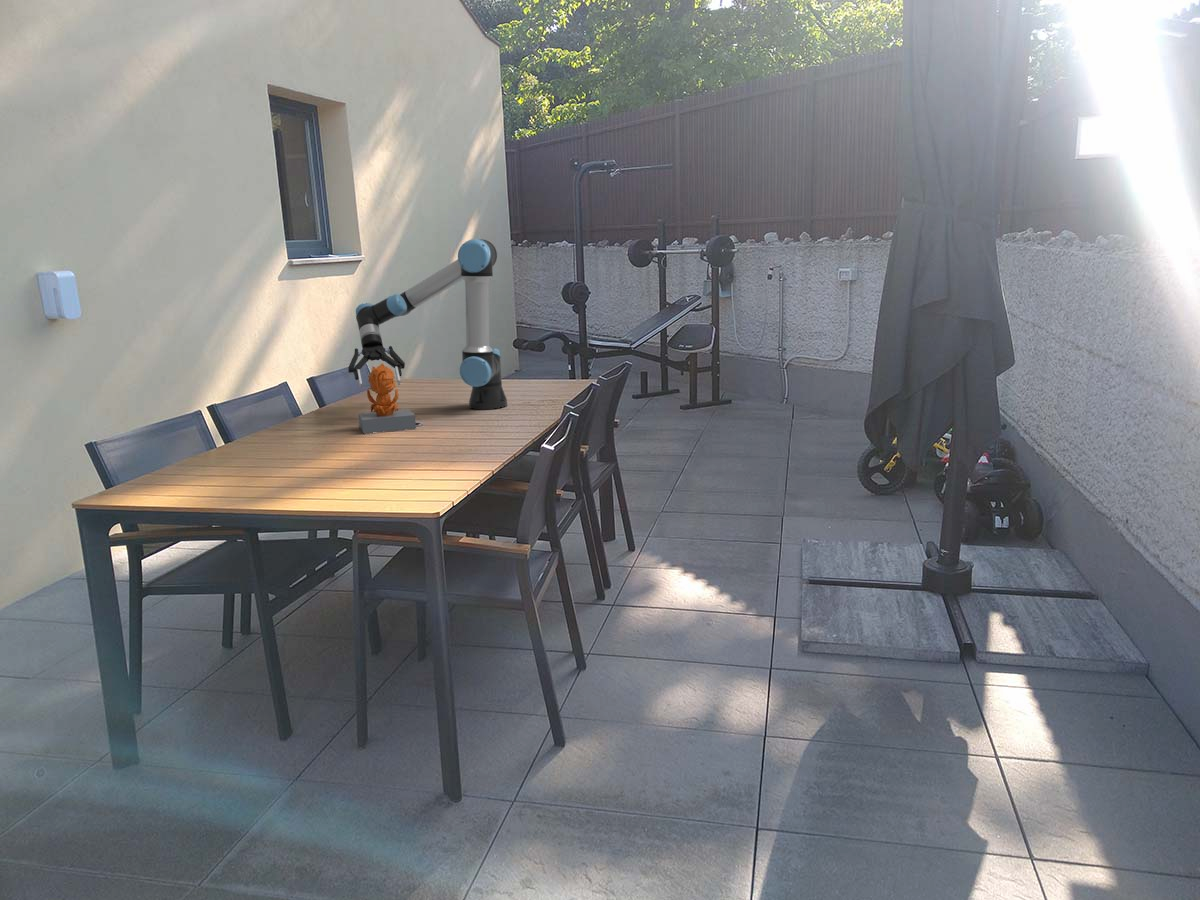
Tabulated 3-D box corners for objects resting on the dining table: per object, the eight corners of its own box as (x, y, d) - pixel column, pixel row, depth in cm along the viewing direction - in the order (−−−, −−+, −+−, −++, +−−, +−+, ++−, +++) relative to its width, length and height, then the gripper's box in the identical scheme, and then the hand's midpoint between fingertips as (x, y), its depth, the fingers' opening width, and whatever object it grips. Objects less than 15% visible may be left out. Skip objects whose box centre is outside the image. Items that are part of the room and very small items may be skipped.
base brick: (409, 422, 331) (408, 409, 330) (416, 428, 318) (415, 415, 317) (359, 427, 325) (358, 413, 324) (363, 434, 312) (362, 420, 311)
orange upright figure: (405, 411, 325) (401, 361, 321) (394, 417, 314) (390, 365, 310) (375, 411, 326) (371, 362, 322) (364, 417, 316) (359, 366, 312)
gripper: (404, 343, 345) (414, 387, 334) (336, 348, 336) (344, 393, 326) (405, 330, 339) (415, 375, 328) (336, 334, 330) (344, 380, 320)
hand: (380, 384), depth 327 cm, fingers open, 13 cm apart
